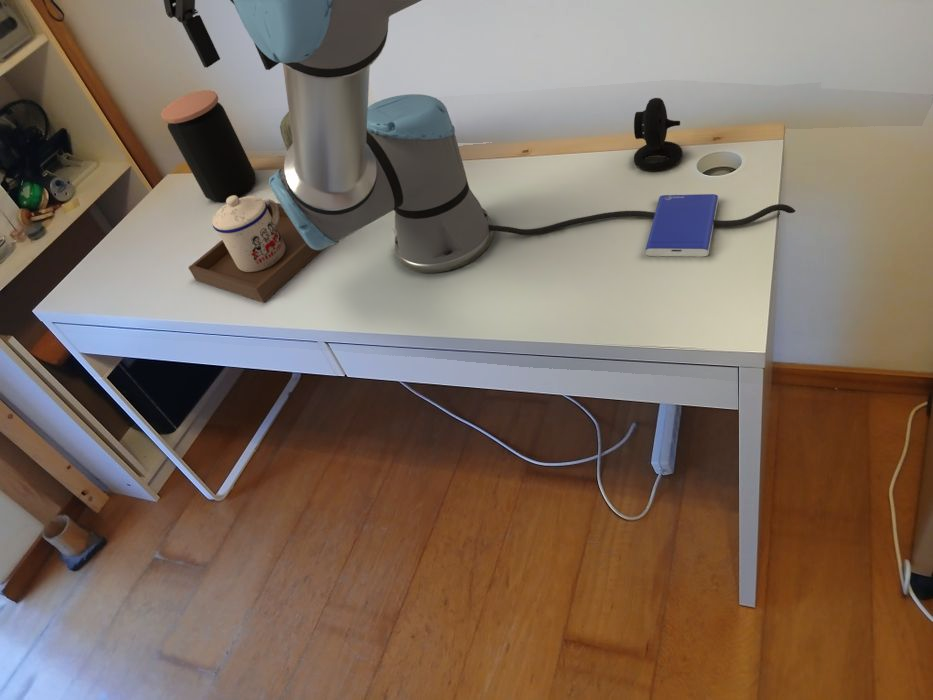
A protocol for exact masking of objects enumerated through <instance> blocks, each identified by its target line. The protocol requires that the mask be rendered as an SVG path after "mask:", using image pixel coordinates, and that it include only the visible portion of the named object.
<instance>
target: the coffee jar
mask: <svg viewBox="0 0 933 700" xmlns="http://www.w3.org/2000/svg"><path fill="white" fill-rule="evenodd" d="M160 116H161V118H162V120H163V122H164V123H167V129H168V131H169V133H170V135H171V137H172V139H173V140H174V142H175V144H176V146H177V148H178V150H179V151H180V154H181V155H182V157H183V159H184V161H185V162H186V164H187V166H188V168H189V169H190V171H191V173H192V175H193V176H194V179H195V181H196V183H197V184H198V186H199V188H200V190H201V192H202V194H203V195H204V197H205V198H206V199H208V200H210V201H212V202H214V203H226V200H227V198H228V197H230V196H233V195H235V196H237V197H238V198H242V197H243V196H244V195H245V194H248V192H249V191H250V190H252V189H253V187H254V186H255V183H256V172H255V170H254V168H253V166H252V164H251V161H250V159H249V157H248V154H247V153H246V151H245V149H244V147H243V145H242V143H241V141H240V139H239V136H238V135H237V133H236V131H235V128H234V126H233V124H232V122H231V119H230V118H229V116H228V114H227V112H226V110H225V108H224V106H223V105H222V104H221V102H219V96H218V93H216V91H215V90H211V89H208V90H207V89H205V90H198V91H193V92H190V93H187V94H185V95H183V96H181V97H179V98H176V99H175V100H173V101H171V102H170V103H169V104H167V105H166V106H165V107H164V108H163V109H162V110H161V113H160Z"/></svg>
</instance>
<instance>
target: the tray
mask: <svg viewBox="0 0 933 700" xmlns="http://www.w3.org/2000/svg"><path fill="white" fill-rule="evenodd" d="M275 203H276V204H277V206H278V209H279V222H278V225H277V226H276V227H277V229H278V231H279V234H280V236H281V238H282V240H283V242H284V244H285V253H284V255H283V256H282V257H281V259H280V260H279V261H278V262H276V263H275V264H274V265H272V266H270V267H268V268H266V269H264V270H261V271H257V272H244V271H242V270H240V269H239V268H238V267H237V266H236V264H235V262H234V260H233V258H232V256H231V255H230V253H229V251H228V249H227V247H226V246H225V244H224V242H223V240H222V239H221V240H220V241H219V242H218V243H216V244H215V245H214V246H213V247H211V248H210V249H209V250H208V251H206V252H205V253H204V254H203V255H202V256H200V257H199V258H198V259H197V260H196V261H194V262H193V263H191V265H189V266H188V270H189V271H190V273H191V275H192V277H193V278H194V280H195V281H196V282H200V283H203V284H205V285H208V286H212V287H215V288H218V289H220V290H224V291H227V292H230V293H233V294H236V295H240V296H242V297H245V298H248V299H251V300H254V301H257V302H260V303H263V304H264V303H265V302H267V301H268V300H269V299H270V298H271V297H273V295H275V293H277V292H278V291H279V290H280V289H281V288H282V287H283V286H284V285H285V284H287V283H288V282H289V281H290V280H291V279H292V278H293V277H294V276H295V275H296V274H298V273H299V272H300V271H301V270H302V269H303V268H304V267H305V266H306V265H307V264H308V263H310V262H311V261H312V260H313V259H314V258H315V257H317V256H318V255H319V253H321V252H322V251H323V250H324V249H321V250H314V249H312V248H311V247H309V246H308V244H307V243H306V242H305V240H304V239H303V238H302V236H301V235H300V233H299V232H298V230H297V229H296V228H295V226H294V225H293V223H292V222H291V220H290V218H289V217H288V215H287V214H286V212H285V211H284V209H283V208H282V206H281V204H280V203H279V202H275ZM267 209H268V211H269V213H270V215H271V217H272V218H273V213H272V209H271V206H270V205H269V204H268V205H267Z"/></svg>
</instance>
